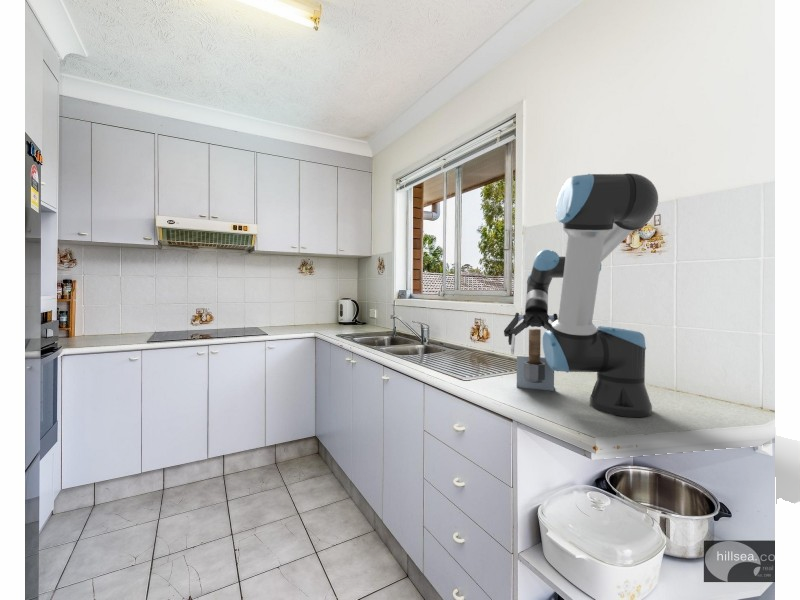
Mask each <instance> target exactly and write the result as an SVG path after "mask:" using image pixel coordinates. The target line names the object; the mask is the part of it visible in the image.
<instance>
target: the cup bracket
mask: <svg viewBox="0 0 800 600" xmlns="http://www.w3.org/2000/svg"><path fill="white" fill-rule="evenodd" d="M524 380H525V381H528V382H533V383H542V382H545V363H544V362H540V364H538V365H537V364H529V361H524Z"/></svg>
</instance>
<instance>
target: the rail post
mask: <svg viewBox="0 0 800 600" xmlns="http://www.w3.org/2000/svg"><path fill="white" fill-rule="evenodd" d="M541 338H542V337H541V329H539V328H528V356H529V364H537V365H538V364H540V357H541V343H542V342H541V341H542V339H541Z"/></svg>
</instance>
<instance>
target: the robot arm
mask: <svg viewBox="0 0 800 600" xmlns="http://www.w3.org/2000/svg"><path fill="white" fill-rule="evenodd" d="M658 205H659V194H658V190H657V188H656V186H655V184H654V183H653V182H652V181H651V180H650V179H649V178H647V177H645V176H644V175H641V174H637V173H609V174H608V173H604V174H603V173H599V174H597V173H595V174H594V173H588V174H580V175H574V176H571V177H569V178H568V179H567V180H566V181H565V183H564V185H563V186H562V187H561V190H560V192H559V195H558V196H557V201H556V207H555V212H556V219H557V221H558V222H559V223H561V224H562V230H563V231H564V233H566V234H567V242H566V251H565V256H559V254H558V253H557V252H556V251H554V250H550V249H542V250H540V251H539V252H538V253H537V255H536V256H535V259H534V261H533V263H532V264H533V265H532V269H531V272H529V274H528V275H527V276H528V277H527V281H526V297H525V305H524V306H525V307H524V308H525V309H524V314H520V313H519V312H515V314H514V317H513V319H512V320H511V321H510V322H509V324H508V325H507V326H506V328H504V329H503V335H504V337H508V339H507V340H508V342H507V343H508V345H509V346H510V352H511V353H510V355H514V354H515V346H516V345H515V344H516V343H515V342H516V336H517V335H519V334H520V333H521V332H522V331H523V330H525V329H527V328H529V327H532V328H534V327H537V328H541V327H542V328H544V330H546V331H544V333H543V334H542V349H543V354H544V357H545V358H546V361H547V363H548V365H549V367H550V368H551V369H553V370H554V372H564V373H596V382H595V383H594V386H593V389H592V392H591V394H590V397H589V406H590V407H591V408H593V409H594V410H597V411H599V412H602V413H605V414H610V415H614V416H619V417H627V418H646V417H649V416H651V415H652V414H653V404H652V402H651V399H650V397H649V393H648V391H647V388H646V385H645V384H646V383H645V381H646V380H645V379H646V378H645V377H646V350H647V347H646V339H645V338H646V337H645V335H644V334H643V333H642V332H640V331H636V330H632V329H625V328H619V327H610V326H604V325H603V326H601V325H600V326H599V325H598V326H597V327H596V326H595V324H593V319H594V312H595V307H596V306H595V304H596V297H597V290H598V286H599V285H598V283H599V279H600V277H599V276H600V272H601V271H602V262H603V261H604V260H605V259H606V258H607V257H608V256H610V254H612V252H613V251H614V250H615V249H616V248H617V247H618V246H619V245H620V244H621V243H623V241H624V240H626V238H627V237H629V236H630V235H631V233H632V232H634V231H639V230H640V229H642V228H644V226H645V225H647V223H648V222H649V221H650V220H651V219H652V218H654V217H653V216H654V214H656V212H657V207H658ZM553 278H554V279H560V278H561V279H562V284H561V293H560V302H559V303H560V304H559V310H558V313H553V315H549V314H548V313H549V311H548V310H549V309H548V308H549V307H548V305H549V287H550V284H551V283H552V279H553ZM522 319H523V320H522ZM521 320H522V321H521ZM549 320H550V321H551V323H550V322H549ZM519 322H520V323H519ZM518 323H519V324H518Z"/></svg>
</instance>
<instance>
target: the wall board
mask: <svg viewBox="0 0 800 600" xmlns="http://www.w3.org/2000/svg"><path fill="white" fill-rule="evenodd" d="M524 361H529V355H516V388H520V389H530V390H532V389H533V390H539V391H540V390H542V391H552V392H554V391H555V371H554V370H553V369H551V368H550V367H549V365H548V363H547V361H546V358H545V356H540V362H544V363H545V382H542V383H533V382H528V381H525V380H524Z"/></svg>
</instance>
